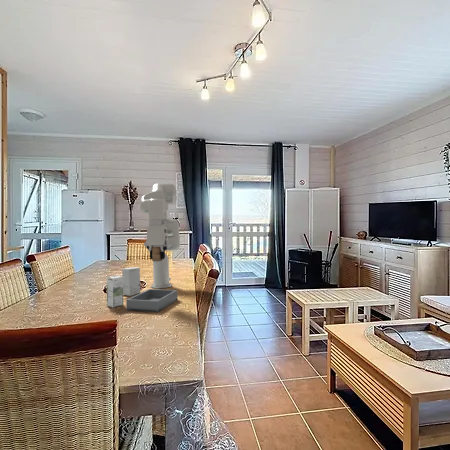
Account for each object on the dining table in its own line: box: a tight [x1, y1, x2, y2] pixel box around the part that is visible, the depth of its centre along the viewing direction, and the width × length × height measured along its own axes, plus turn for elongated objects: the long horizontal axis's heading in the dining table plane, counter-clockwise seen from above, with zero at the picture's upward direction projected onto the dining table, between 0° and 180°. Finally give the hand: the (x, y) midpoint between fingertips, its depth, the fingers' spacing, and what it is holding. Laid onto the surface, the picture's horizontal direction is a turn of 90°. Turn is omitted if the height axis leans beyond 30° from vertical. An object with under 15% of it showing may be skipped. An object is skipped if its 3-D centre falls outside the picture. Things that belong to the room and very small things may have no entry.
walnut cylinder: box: [151, 246, 162, 262], centre depth 162 cm, size 5×5×7 cm
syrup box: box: [106, 274, 124, 309], centre depth 157 cm, size 6×6×14 cm
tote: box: [125, 288, 178, 313], centre depth 158 cm, size 22×16×5 cm
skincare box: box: [121, 266, 141, 297], centre depth 181 cm, size 8×6×15 cm
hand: (157, 258), depth 162 cm, fingers closed on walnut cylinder, 4 cm apart
